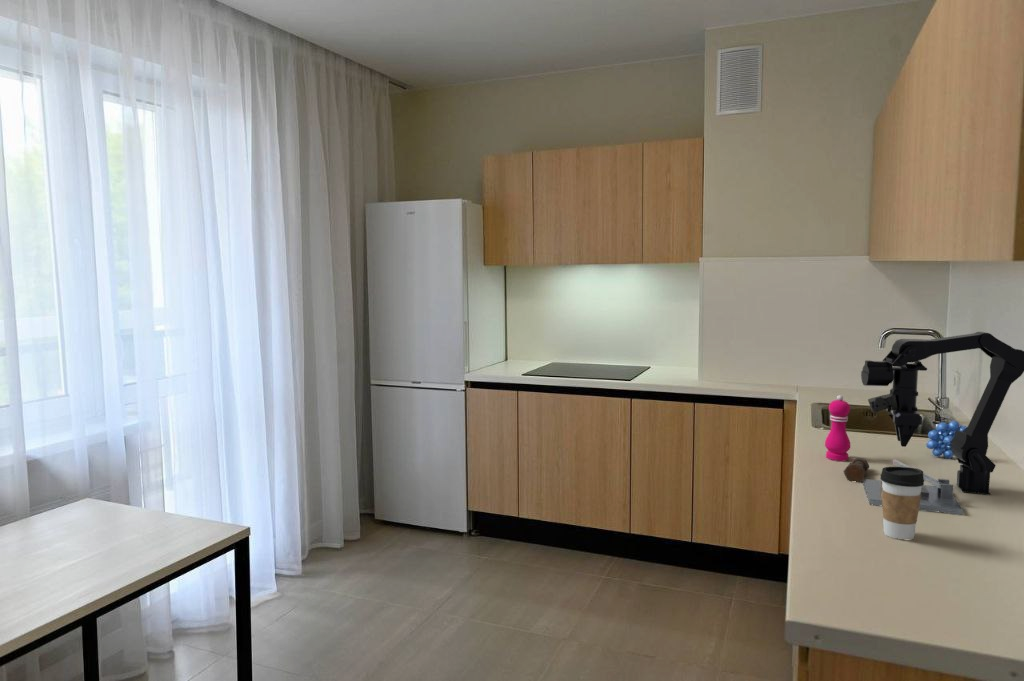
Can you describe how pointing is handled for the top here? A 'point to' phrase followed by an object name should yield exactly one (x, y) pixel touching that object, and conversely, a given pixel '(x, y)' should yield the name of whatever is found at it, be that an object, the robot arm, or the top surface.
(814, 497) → the top surface
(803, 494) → the top surface
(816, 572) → the top surface
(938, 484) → the strap
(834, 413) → the pepper mill
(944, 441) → the grapes
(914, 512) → the coffee cup
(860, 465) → the bolt
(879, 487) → the base
